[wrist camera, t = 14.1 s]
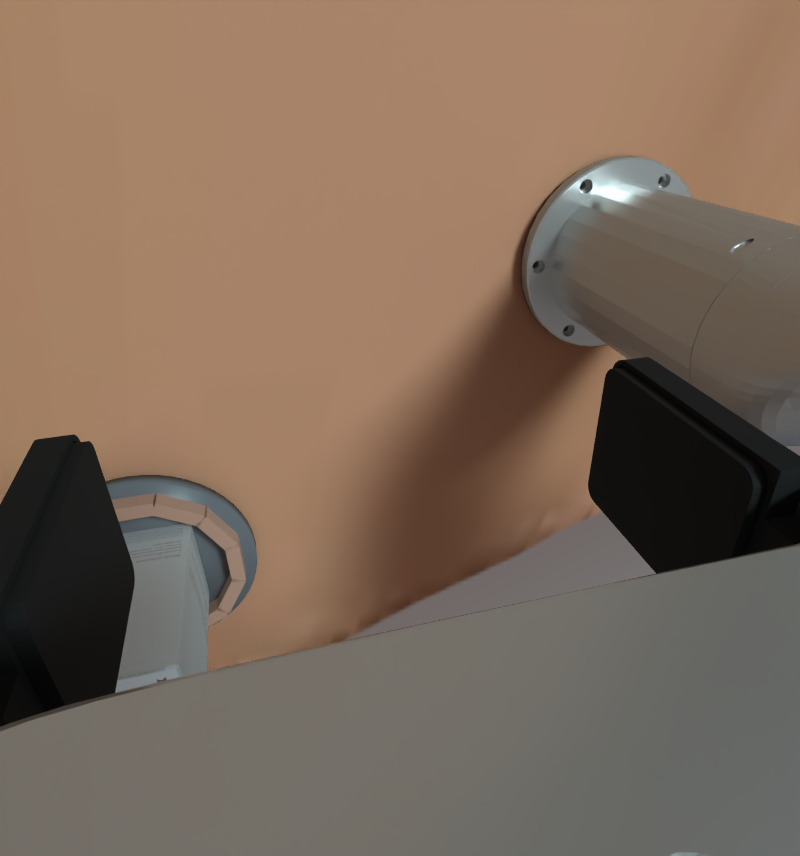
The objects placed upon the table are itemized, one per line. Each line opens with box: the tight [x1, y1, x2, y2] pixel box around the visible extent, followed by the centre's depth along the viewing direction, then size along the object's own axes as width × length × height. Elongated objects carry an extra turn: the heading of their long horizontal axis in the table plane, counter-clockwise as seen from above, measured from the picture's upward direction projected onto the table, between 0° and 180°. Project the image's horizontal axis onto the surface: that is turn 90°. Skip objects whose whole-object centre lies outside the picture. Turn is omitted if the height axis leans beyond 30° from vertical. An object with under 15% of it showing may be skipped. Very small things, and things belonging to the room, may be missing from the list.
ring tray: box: [106, 475, 257, 628], centre depth 44 cm, size 15×15×2 cm
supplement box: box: [115, 523, 209, 693], centre depth 39 cm, size 7×7×13 cm
